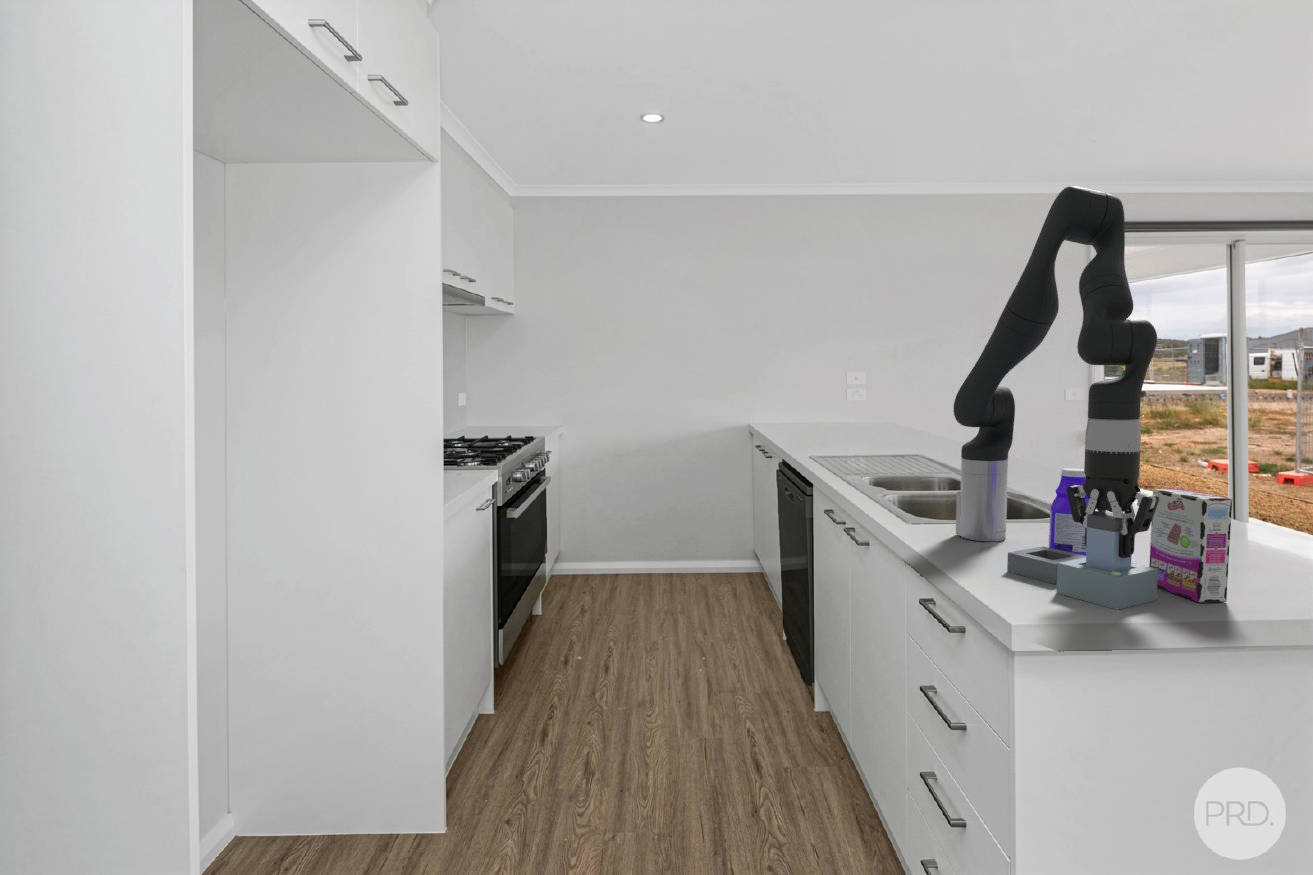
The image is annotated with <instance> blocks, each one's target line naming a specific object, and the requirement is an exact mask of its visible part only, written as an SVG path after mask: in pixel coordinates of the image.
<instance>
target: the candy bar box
mask: <svg viewBox="0 0 1313 875" xmlns="http://www.w3.org/2000/svg"><path fill="white" fill-rule="evenodd" d="M1152 495H1156V496H1158V497H1159V502H1158V505H1157V508H1156V510H1155V513H1154V516H1153V519H1152V521H1151V524H1150V529H1151V530H1150V543H1149V544H1150V546H1149V564H1148V567H1151V568H1156V569H1158V580H1157V589H1161V590H1164V591H1166V592H1168V593H1171V594H1174V595H1178V596H1180V597H1183V598H1186V599H1188V600H1191V601H1193V602H1196V603H1198V604H1199V603H1200V604H1201V603H1205V604H1206V603H1207V604H1208V603H1212V604H1213V603H1226V602H1227V601H1228V600H1227V599H1228V598H1227V597H1228V580H1229V562H1230V544H1231V531H1232V530H1231V528H1232V527H1231V525H1232V510H1233V509H1232V508H1233V499H1232V498H1229V497H1222V496H1219V495H1214V494H1208V493H1203V492H1198V491H1191V490H1186V489H1182V488H1181V489H1179V488H1156V489H1152Z"/></svg>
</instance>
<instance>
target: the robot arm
mask: <svg viewBox="0 0 1313 875" xmlns="http://www.w3.org/2000/svg"><path fill="white" fill-rule="evenodd" d="M1125 220H1126V219H1125V209H1124V205H1123V202H1122V200H1121V199H1120V198H1119V197H1118V196H1116V195H1114V194H1111V193H1107V192H1104V191H1100V190H1096V189H1095V190H1094V189H1090V188H1085V187H1081V186H1074V185H1070V186H1069V185H1068V186H1067V187H1064V188H1063V189H1062V190H1061V191H1060V192H1059V193H1058V194H1057V195H1056V197H1055V199H1054V201H1053V202H1052V204H1051V207H1050V209H1049V210H1048V212H1047V215H1046V218H1045V219H1044V222H1043V225H1042V227H1041V230H1040V233H1039V234H1038V237H1037V240H1036V242H1035V245H1034V247H1033V250H1032V251H1031V254H1030V256H1029V259H1028V261H1027V263H1026V265H1025V268H1024V270H1023V272H1022V273H1021V276H1020V277H1019V279H1018V281H1017V283H1016V286H1015V287H1014V288H1013V290H1012V292H1011V295H1010V296H1009V298H1008V300H1007V302H1006V304H1005V306H1004V307H1003V310H1002V312H1001V314H1000V316H999V318H998V320H997V322H996V324H995V326H994V329H993V331H992V333H991V335H990V337H989V339H988V341H987V342H986V345H985V346H984V348H983V350H982V352H981V354H980V355H979V358H978V359H977V361H976V362H975V364H974V366H973V367H972V369H971V370H970V372H969V374H967V376H966V378H965V379H964V381H963V383H962V385H960V387H959V389H958V391H957V393H956V395H955V399H954V402H953V415H954V418H955V420H956V421H957V423H958V424H959V425H961V426H963V427H967V428H978V432H977V434H976V435H975V436H974V437H973V438H972V439H971V440H969V441H967V442H965V443H964V444H963V445H962V447H961V454H960V458H961V459H960V460H961V461H960V462H961V463H960V464H961V465H960V490H959V491H957V492H956V502H955V503H956V506H955V507H956V508H955V510H956V511H955V535H956V534H957V536H959V537H960V536H961V538H962V539H965V540H971V541H977V542H1000V541H1001V542H1002V541H1005V540H1006V537H1007V536H1006V534H1007V508H1008V506H1007V503H1008V502H1007V501H1008V477H1009V476H1008V474H1009V472H1008V471H1009V470H1008V468H1009V464H1008V462H1009V460H1008V459H1009V451H1010V450H1011V447H1012V446H1013V439H1014V426H1015V416H1016V404H1015V403H1016V402H1015V398H1014V394H1013V391H1011V389H1010V388H1009V387H1008V386H1007V385H1005V384H1002V383H1001V382H1002V381H1003V380H1004V378H1005V377H1006V375H1008V374H1009V372H1011V370H1013V369H1014V368H1015V367H1017V366H1018V365H1019V364H1020V363H1021V362H1022V361H1023V360H1025V359H1026V358H1027V357H1028V356H1030V355H1031V353H1033V352H1034V351H1035V350H1036V349H1037V348H1038V347H1039V346H1040V345H1041V344H1042V342H1043V341H1044V339H1045V338H1046V336H1047V335H1048V332H1049V331H1050V329H1051V327H1052V326H1053V323H1054V322H1055V320H1056V318H1057V316H1058V313H1059V305H1060V302H1059V293H1058V292H1059V291H1058V288H1057V287H1058V286H1057V280H1056V261H1057V256H1058V254H1059V250H1060V248H1061V246H1062V244H1064V243H1063V242H1064V241H1067V242H1070V243H1076V244H1080V245H1085V246H1092V247H1093V249H1094V250H1095V253H1096V254H1095V255H1094V257H1093V258H1092V259H1091V260H1090V261H1089V262H1088V263H1087V265H1086V266H1085V267H1084V269H1083V270H1082V272H1081V274H1080V277H1079V281H1078V292H1079V297H1080V301H1081V307H1082V312H1083V313H1082V314H1083V316H1082V324H1081V327H1080V333H1079V335H1078V338H1077V346H1076V347H1077V354H1078V356H1079V357H1080V359H1081V360H1082V361H1083V362H1084V363H1086V364H1089V365H1092V366H1125V367H1124V370H1123V371H1122V373H1121V374H1120V375H1118V376H1117V377H1114V378H1111V379H1104V380H1100V381H1096V382H1093V383H1092V384H1091V385H1090V386H1089V389H1088V399H1087V400H1088V403H1087V405H1088V406H1087V422H1086V423H1087V425H1086V428H1085V439H1084V440H1085V441H1084V443H1085V444H1084V464H1083V465H1084V467H1083V469H1084V474H1085V475H1086V479H1085V481H1084V483H1083V485H1077V486H1076V485H1075V486H1069V487H1067V489H1066V491H1067V495H1068V500H1069V504H1070V508H1071V513H1072V517H1073V520H1074V522H1079V523H1081V524H1082V525H1083V526H1084V527H1085V546H1086V543H1087V515H1095V514H1102V513H1105V512H1107V511H1108V512H1109V513H1113V515H1114V519H1118V520H1119V530H1120V533H1121V534H1119V557H1120V558H1128V557H1130V556H1131V554H1132V555H1133V554H1134V553H1135V540H1136V539H1135V537H1136V534H1138V533H1143V532H1148V531H1149V529H1150V528H1151V524H1152V519H1153V516H1154V513H1155V510H1156V508H1157V505H1158V502H1159V497H1158V496H1156V495H1153V494H1152V495H1149V494H1147V493H1145V492H1143V491H1141V488H1140V486H1139V483H1138V480H1139V478H1140V470H1141V468H1140V466H1141V443H1142V430H1141V421H1140V418H1141V401H1142V400H1141V399H1142V390H1143V385H1144V382H1145V378H1146V375H1147V372H1148V369H1149V367H1150V364H1151V361H1152V359H1153V357H1154V353H1155V351H1156V347H1157V343H1158V334H1157V331H1156V328H1155V327H1154V325H1153V324H1152V323H1151V322H1150V321H1149V320H1147V319H1143V318H1131V319H1130V318H1129V317H1130V316H1131V315H1132V313H1133V310H1134V300H1133V296H1132V292H1131V289H1130V284H1129V281H1128V280H1129V279H1128V277H1127V276H1128V275H1127V272H1126V266H1125V265H1126V264H1125V245H1126V244H1125V243H1126V242H1125V239H1126V233H1125V228H1126V227H1125V224H1126V222H1125ZM1085 495H1087V496H1088V498H1089V503H1088V506H1086V502H1085V498H1084V497H1085ZM1134 502H1136V506H1137V507H1138V508H1137V512H1136V514H1135V509H1134V506H1133V504H1134ZM1131 557H1132V556H1131Z"/></svg>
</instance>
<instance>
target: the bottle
mask: <svg viewBox="0 0 1313 875" xmlns="http://www.w3.org/2000/svg"><path fill="white" fill-rule="evenodd" d="M1060 476H1061V477H1060V481H1059V484H1058V486H1057V488H1056V489H1055V495H1056V496H1055V498H1054V499H1053V501H1052V502H1051V505H1050V510H1049V511H1050V513H1049V532H1048V548H1052V549H1057V550H1061V551H1066V552H1070V553H1075V554H1079V555H1084V556H1086V546H1085V527H1084V526H1083V525H1082V524H1081V523H1079V522H1074V520H1073V517H1072V513H1071V508H1070V504H1069V500H1068V495H1067V491H1066V489H1067V487H1069V486H1075V485H1076V486H1077V485H1083V483H1084V481H1085V479H1086V475H1085V474H1084V468H1077V467H1076V468H1075V467H1063V468H1062V469H1061V474H1060ZM1084 498H1085V502H1086V506H1088V503H1089V498H1088V496H1087V495H1085V497H1084Z"/></svg>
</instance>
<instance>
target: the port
mask: <svg viewBox="0 0 1313 875" xmlns="http://www.w3.org/2000/svg"><path fill="white" fill-rule="evenodd" d="M1157 580H1158V569H1156V568H1151V567H1149V566H1146V565H1142V564H1137V563H1132V562H1131V569H1129V570H1124V571H1119V572H1115V571H1113V572H1109V571H1104V570H1100V569H1096V568H1092V567H1087V566H1086V558H1080V559H1075V560H1070V561H1065V562H1059V563H1058V564H1057V584H1056V594H1059V595H1063V596H1065V597H1071V598H1072V599H1073V598H1074V599H1077V600H1079V601H1080V600H1082V601H1084V602H1088V603H1090V604H1091V603H1092V604H1094V605H1095V604H1096V605H1099V606H1102V607H1106V608H1110V609H1113V610H1116V611H1117V610H1122V609H1126V608H1129V607H1133V606H1134V607H1135V606H1138V605H1142V604H1147V603H1150V602H1155V601H1157V600H1158V599H1157V597H1158V596H1157V595H1158V587H1157Z"/></svg>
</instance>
